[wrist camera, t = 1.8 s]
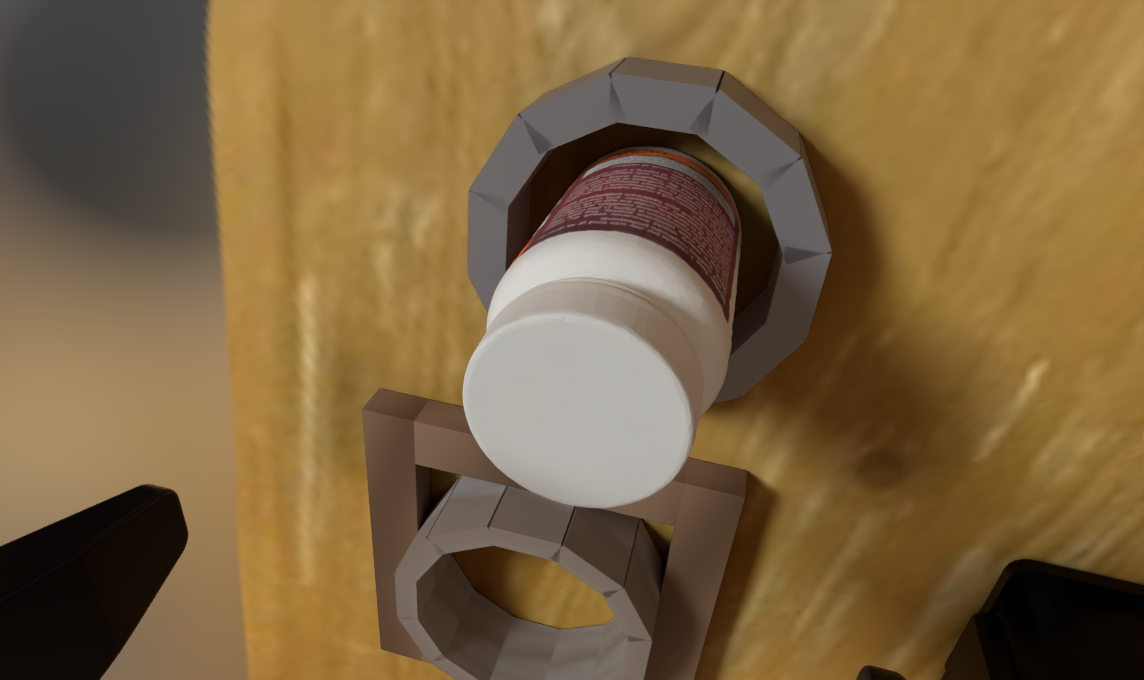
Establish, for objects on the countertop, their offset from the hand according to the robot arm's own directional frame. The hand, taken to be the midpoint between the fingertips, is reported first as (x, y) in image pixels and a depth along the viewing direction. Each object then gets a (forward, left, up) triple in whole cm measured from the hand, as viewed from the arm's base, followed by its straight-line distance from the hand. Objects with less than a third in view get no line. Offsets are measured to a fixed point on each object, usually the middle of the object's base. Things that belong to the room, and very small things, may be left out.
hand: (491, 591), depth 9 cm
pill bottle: (0, 0, -12) cm, 12 cm away
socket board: (+2, +13, -12) cm, 18 cm away
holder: (0, 0, -12) cm, 12 cm away
